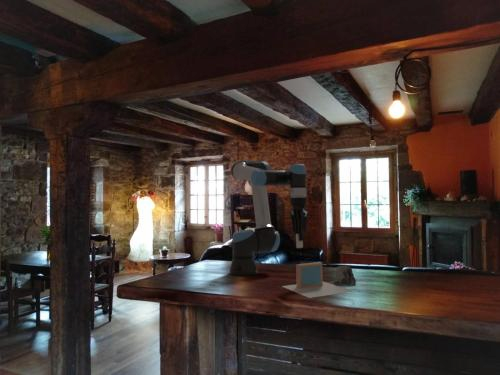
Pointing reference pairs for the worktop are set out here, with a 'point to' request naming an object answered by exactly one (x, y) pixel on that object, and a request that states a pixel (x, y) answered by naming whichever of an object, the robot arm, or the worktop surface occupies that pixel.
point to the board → (318, 290)
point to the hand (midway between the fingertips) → (299, 247)
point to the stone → (345, 275)
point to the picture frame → (309, 275)
